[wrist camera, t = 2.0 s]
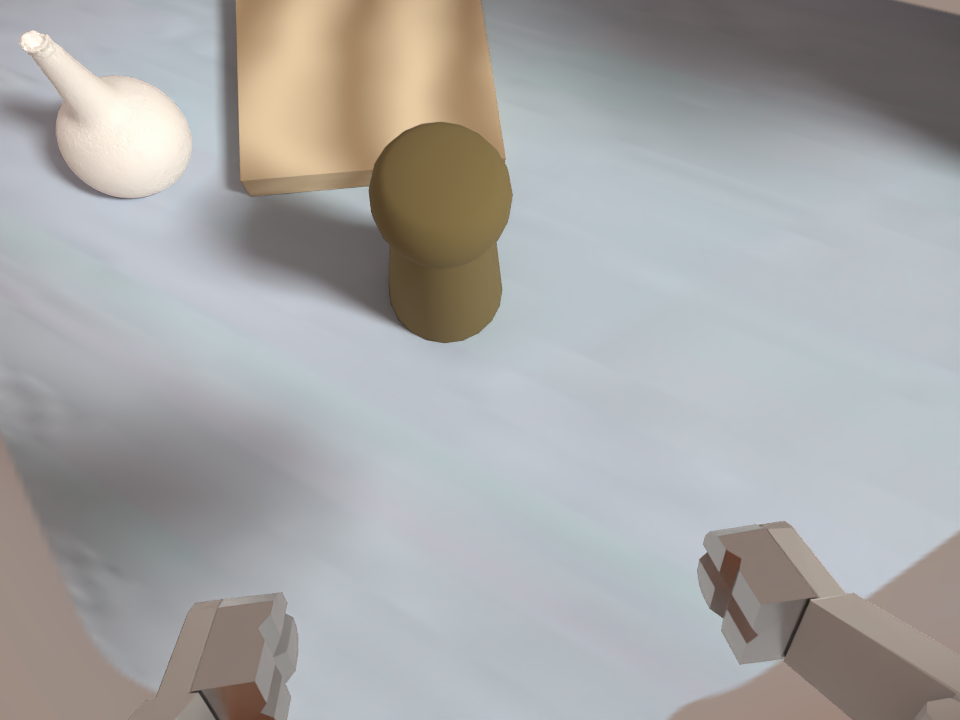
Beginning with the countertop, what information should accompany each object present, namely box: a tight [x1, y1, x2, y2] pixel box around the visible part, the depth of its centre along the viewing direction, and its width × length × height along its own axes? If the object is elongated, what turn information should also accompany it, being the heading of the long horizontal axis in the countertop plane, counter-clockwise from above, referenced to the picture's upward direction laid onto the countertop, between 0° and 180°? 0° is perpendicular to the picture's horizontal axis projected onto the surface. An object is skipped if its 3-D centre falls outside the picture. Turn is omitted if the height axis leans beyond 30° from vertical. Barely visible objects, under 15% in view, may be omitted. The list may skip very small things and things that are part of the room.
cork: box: [369, 122, 513, 343], centre depth 23 cm, size 6×6×11 cm
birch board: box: [236, 0, 506, 196], centre depth 31 cm, size 14×13×2 cm
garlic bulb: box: [19, 30, 192, 198], centre depth 26 cm, size 6×6×8 cm
